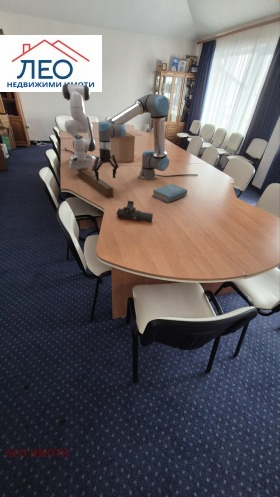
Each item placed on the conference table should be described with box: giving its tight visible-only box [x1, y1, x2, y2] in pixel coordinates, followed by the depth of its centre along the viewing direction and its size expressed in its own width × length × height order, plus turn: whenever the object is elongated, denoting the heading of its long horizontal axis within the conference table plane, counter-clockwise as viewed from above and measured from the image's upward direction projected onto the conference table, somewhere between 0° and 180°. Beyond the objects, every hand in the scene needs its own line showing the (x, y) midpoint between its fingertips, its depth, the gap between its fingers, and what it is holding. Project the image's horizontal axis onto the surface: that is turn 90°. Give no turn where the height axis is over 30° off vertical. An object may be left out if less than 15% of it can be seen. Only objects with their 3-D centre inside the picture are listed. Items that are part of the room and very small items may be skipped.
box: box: [110, 130, 143, 163], centre depth 244 cm, size 44×36×27 cm
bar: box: [76, 168, 114, 199], centre depth 180 cm, size 56×5×7 cm, turn 36°
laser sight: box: [116, 200, 154, 223], centre depth 136 cm, size 10×22×10 cm, turn 78°
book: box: [152, 183, 188, 204], centre depth 172 cm, size 23×16×5 cm
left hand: (81, 173), depth 194 cm, fingers closed on bar, 5 cm apart
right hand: (105, 179), depth 161 cm, fingers open, 13 cm apart
